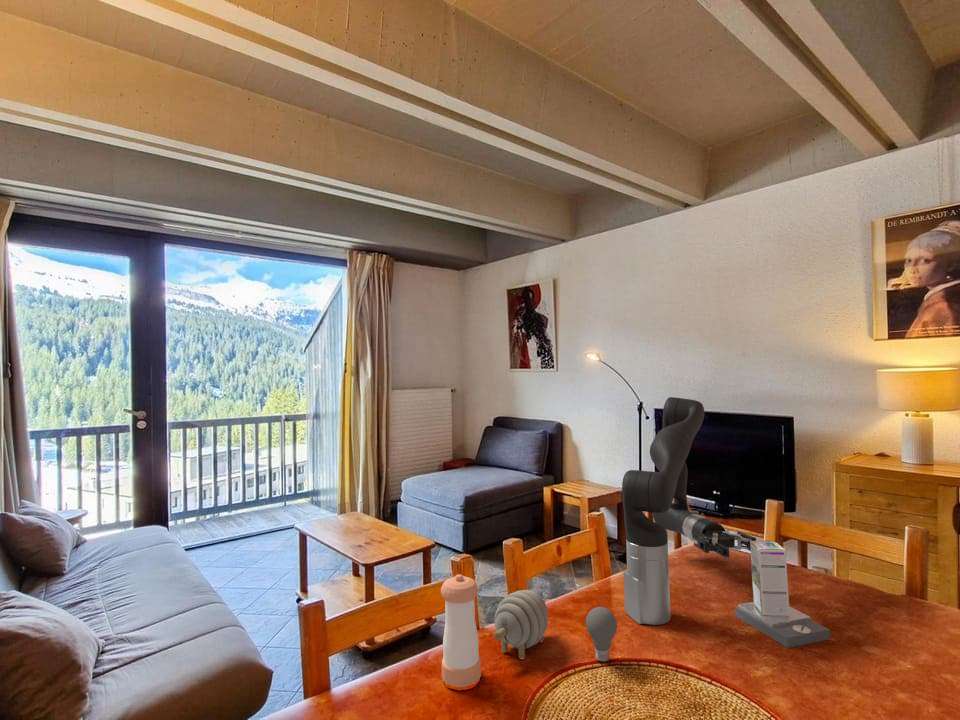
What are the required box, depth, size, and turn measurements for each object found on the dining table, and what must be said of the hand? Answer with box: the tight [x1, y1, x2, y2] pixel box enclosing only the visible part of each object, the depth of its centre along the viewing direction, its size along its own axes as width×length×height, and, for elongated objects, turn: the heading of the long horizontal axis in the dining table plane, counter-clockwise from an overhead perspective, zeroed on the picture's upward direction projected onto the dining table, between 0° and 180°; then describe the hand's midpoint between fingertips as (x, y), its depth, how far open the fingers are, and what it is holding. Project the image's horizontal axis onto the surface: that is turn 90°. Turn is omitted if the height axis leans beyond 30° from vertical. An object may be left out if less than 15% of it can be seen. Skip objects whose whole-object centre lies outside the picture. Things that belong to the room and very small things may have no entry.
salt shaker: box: [440, 573, 482, 687], centre depth 93 cm, size 7×7×19 cm
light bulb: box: [585, 606, 618, 662], centre depth 98 cm, size 6×6×10 cm
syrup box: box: [750, 540, 790, 617], centre depth 111 cm, size 6×6×14 cm
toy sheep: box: [493, 589, 549, 659], centre depth 103 cm, size 11×17×11 cm, turn 148°
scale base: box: [734, 606, 831, 649], centre depth 109 cm, size 11×14×2 cm
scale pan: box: [737, 601, 812, 628], centre depth 110 cm, size 10×10×1 cm
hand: (744, 551), depth 119 cm, fingers open, 8 cm apart
